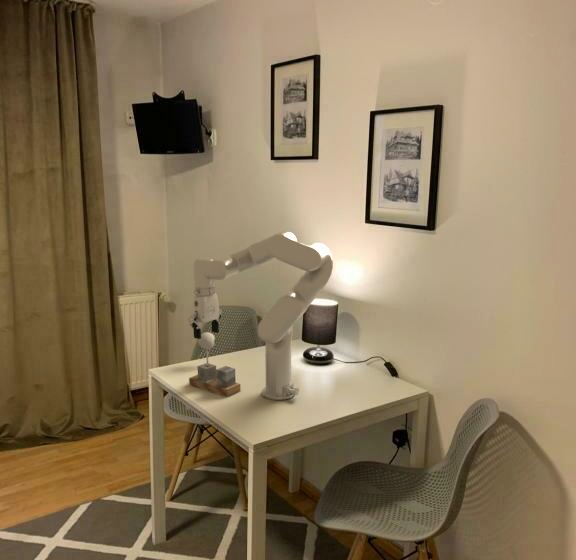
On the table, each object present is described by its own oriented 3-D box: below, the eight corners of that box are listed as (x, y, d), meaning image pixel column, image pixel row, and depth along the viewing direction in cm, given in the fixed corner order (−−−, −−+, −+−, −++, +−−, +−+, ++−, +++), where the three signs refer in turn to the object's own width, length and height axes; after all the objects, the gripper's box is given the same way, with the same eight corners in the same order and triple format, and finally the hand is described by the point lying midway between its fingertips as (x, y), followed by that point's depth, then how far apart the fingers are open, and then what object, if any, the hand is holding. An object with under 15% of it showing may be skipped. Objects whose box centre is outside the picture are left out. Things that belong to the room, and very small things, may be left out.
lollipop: (214, 369, 235) (213, 335, 232) (197, 369, 235) (196, 335, 232) (217, 363, 242) (216, 330, 239) (200, 363, 242) (199, 330, 239)
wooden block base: (240, 391, 212) (240, 368, 210) (228, 397, 206) (227, 374, 205) (202, 380, 224) (201, 358, 222) (189, 385, 218) (188, 363, 216)
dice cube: (206, 381, 213) (205, 369, 212) (197, 378, 216) (197, 366, 215) (216, 378, 216) (216, 365, 216) (207, 375, 220) (207, 362, 219)
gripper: (195, 296, 201) (197, 342, 205) (227, 288, 215) (229, 331, 218) (180, 294, 206) (182, 339, 209) (213, 286, 219) (214, 328, 223)
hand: (206, 335), depth 214 cm, fingers open, 9 cm apart
